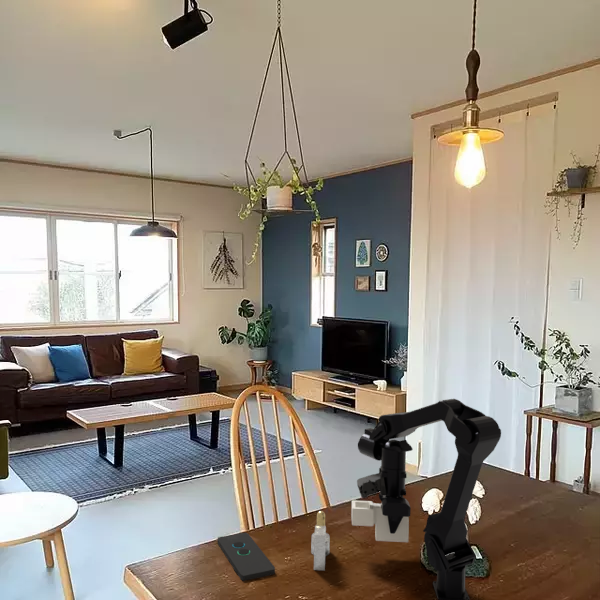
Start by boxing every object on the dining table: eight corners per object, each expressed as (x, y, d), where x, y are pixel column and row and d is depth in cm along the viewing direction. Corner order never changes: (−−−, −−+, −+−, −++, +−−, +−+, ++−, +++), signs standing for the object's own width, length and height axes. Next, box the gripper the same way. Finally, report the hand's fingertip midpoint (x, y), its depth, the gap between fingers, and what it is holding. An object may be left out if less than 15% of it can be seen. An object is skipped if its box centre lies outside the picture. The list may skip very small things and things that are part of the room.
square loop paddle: (408, 544, 129) (409, 511, 129) (351, 542, 130) (352, 508, 130) (406, 535, 134) (406, 502, 134) (351, 532, 135) (351, 500, 135)
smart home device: (247, 531, 141) (276, 568, 123) (247, 538, 141) (276, 575, 123) (215, 536, 138) (241, 575, 119) (215, 543, 138) (241, 583, 119)
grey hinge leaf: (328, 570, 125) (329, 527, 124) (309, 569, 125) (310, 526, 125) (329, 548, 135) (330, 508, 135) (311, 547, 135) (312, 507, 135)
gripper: (357, 453, 141) (356, 513, 142) (361, 478, 123) (359, 547, 123) (401, 454, 141) (400, 515, 141) (411, 480, 122) (409, 549, 122)
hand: (391, 530), depth 132 cm, fingers closed on square loop paddle, 2 cm apart
